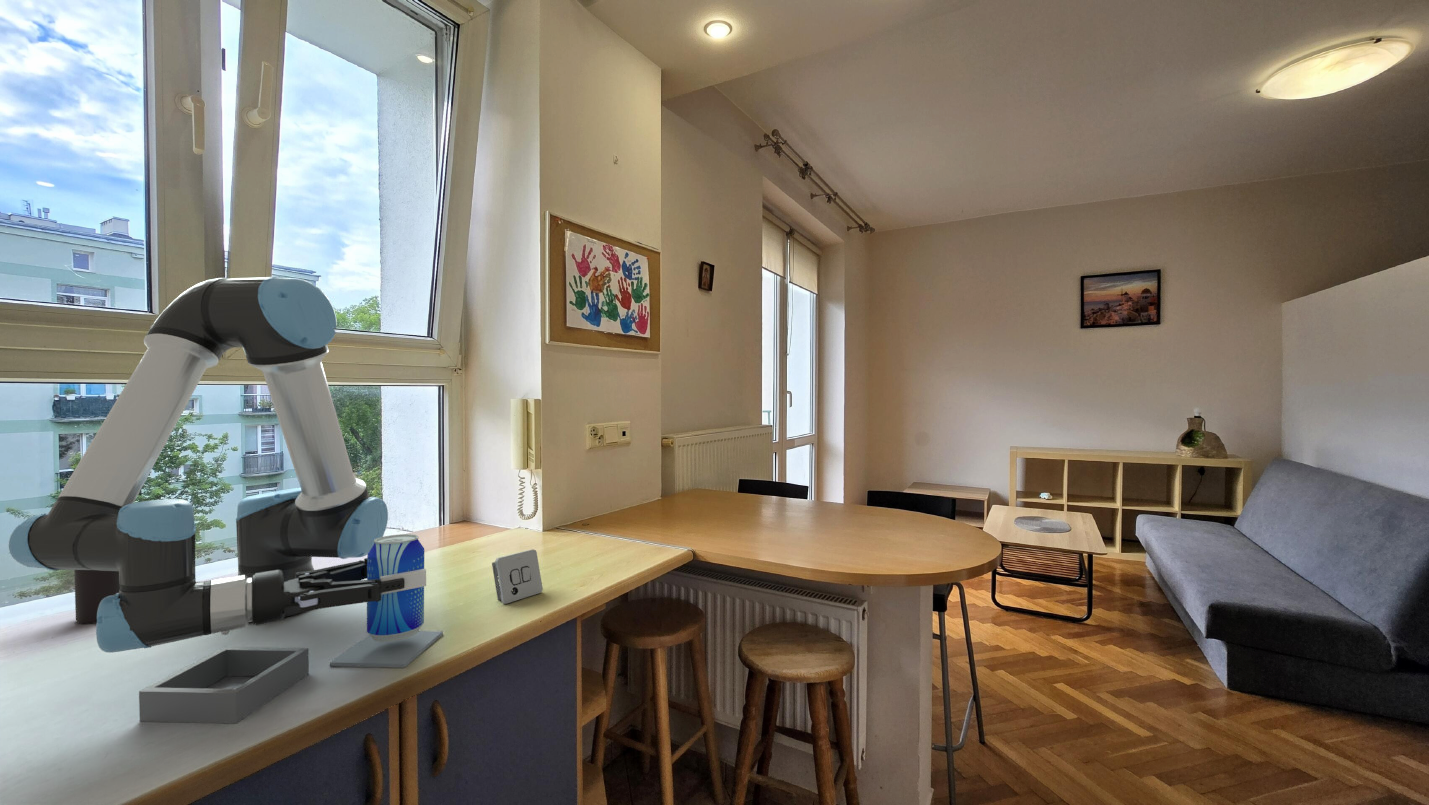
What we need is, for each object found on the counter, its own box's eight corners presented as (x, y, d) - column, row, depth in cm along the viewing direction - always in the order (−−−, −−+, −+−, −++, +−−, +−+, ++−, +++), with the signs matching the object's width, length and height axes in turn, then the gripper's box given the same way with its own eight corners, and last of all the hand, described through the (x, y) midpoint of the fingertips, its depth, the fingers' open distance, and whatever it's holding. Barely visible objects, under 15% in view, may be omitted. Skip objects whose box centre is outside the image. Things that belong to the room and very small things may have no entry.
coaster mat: (329, 666, 91) (329, 662, 91) (376, 633, 103) (376, 630, 103) (404, 667, 91) (404, 663, 91) (442, 634, 103) (442, 631, 103)
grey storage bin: (139, 721, 76) (138, 691, 76) (226, 672, 89) (225, 646, 89) (236, 723, 76) (235, 693, 76) (308, 673, 89) (308, 648, 89)
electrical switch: (503, 606, 116) (501, 559, 117) (490, 602, 120) (487, 557, 120) (543, 593, 124) (541, 549, 124) (529, 590, 127) (527, 547, 127)
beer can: (376, 627, 100) (377, 534, 100) (429, 623, 102) (430, 532, 102) (358, 646, 92) (359, 544, 92) (416, 641, 94) (417, 542, 94)
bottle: (76, 617, 110) (73, 512, 109) (127, 607, 115) (124, 507, 114) (75, 627, 105) (72, 518, 104) (128, 617, 110) (125, 512, 109)
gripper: (251, 603, 94) (407, 575, 108) (250, 651, 77) (434, 610, 91) (250, 557, 94) (406, 535, 108) (249, 595, 77) (434, 563, 91)
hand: (419, 570), depth 99 cm, fingers closed on beer can, 8 cm apart
